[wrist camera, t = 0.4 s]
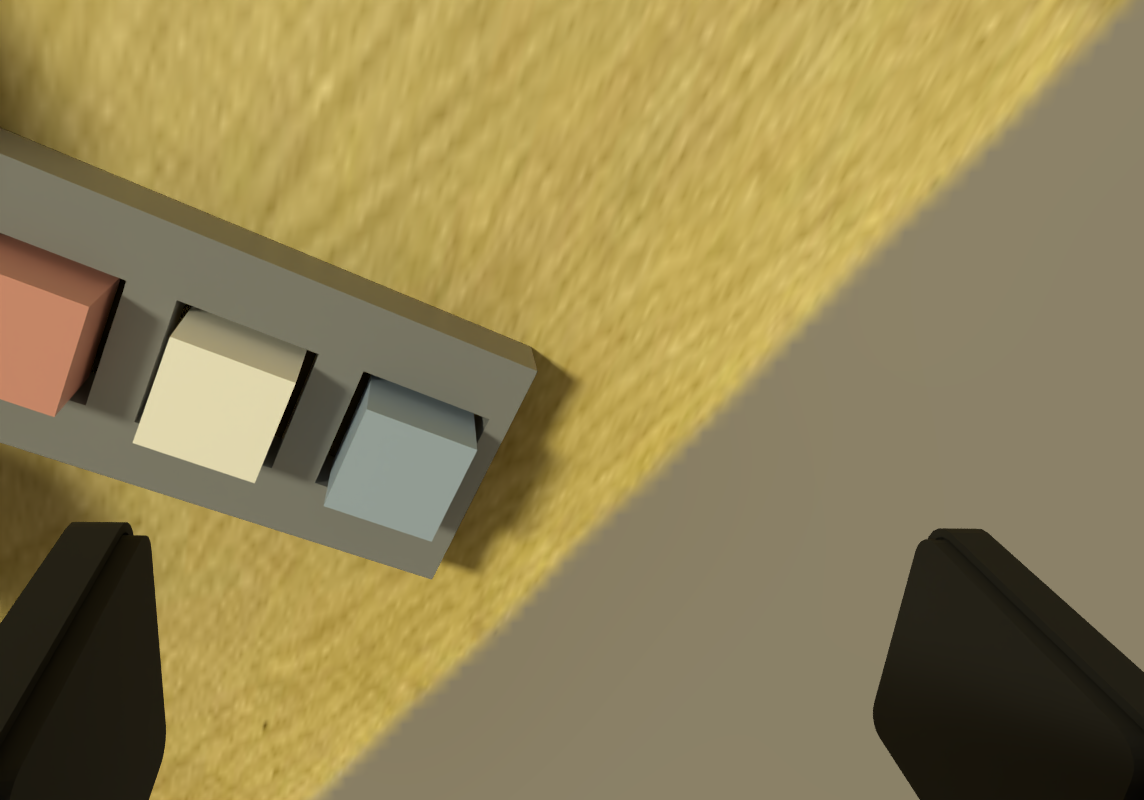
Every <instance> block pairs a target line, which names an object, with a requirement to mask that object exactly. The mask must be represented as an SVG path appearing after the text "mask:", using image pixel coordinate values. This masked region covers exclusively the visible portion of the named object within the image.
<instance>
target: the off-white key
mask: <svg viewBox="0 0 1144 800" xmlns="http://www.w3.org/2000/svg"><path fill="white" fill-rule="evenodd" d="M306 351H307V350H306V349H304V348H301V347H299V346H296V345H293V344H291V343H288V342H285V341H283V340H280V339H278V338H275V337H272V336H270V335H267V334H264V333H262V332H259V331H257V330H254V329H251V328H249V327H246V326H243V325H241V324H238V323H236V322H233V321H230V320H228V319H225V318H222V317H220V316H217V315H215V314H212V313H209V312H207V311H204V310H201V309H199V308H196V307H194V306H192V307H191V309H190V310H189V311H188V313H187V314H186V315H185V317H184V318H183V320H182V321H181V322H180V324H179V325H178V326H177V328H176V329H175V330H174V332H173V333H172V335H171V336H170V338H169V341H168V344H167V346H166V349H165V352H164V355H163V358H162V361H161V363H160V366H159V369H158V372H157V375H156V378H155V380H154V383H153V386H152V389H151V392H150V395H149V398H148V400H147V403H146V406H145V409H144V412H143V415H142V417H141V420H140V423H139V426H138V429H137V432H136V434H135V437H134V440H133V443H134V444H137V445H140V446H143V447H146V448H149V449H152V450H155V451H158V452H161V453H164V454H167V455H170V456H173V457H177V458H180V459H183V460H186V461H189V462H192V463H195V464H198V465H201V466H204V467H207V468H210V469H213V470H216V471H219V472H222V473H225V474H228V475H231V476H234V477H237V478H240V479H243V480H246V481H249V482H252V483H255V481H256V479H257V476H258V474H259V472H260V469H261V467H262V464H263V462H264V459H265V457H266V455H267V452H268V450H269V447H270V445H271V442H272V440H273V437H274V435H275V433H276V430H277V428H278V425H279V423H280V420H281V418H282V416H283V413H284V411H285V408H286V406H287V403H288V401H289V398H290V396H291V394H292V391H293V389H294V386H295V384H296V381H297V378H298V375H299V372H300V369H301V366H302V363H303V360H304V357H305V354H306Z"/></svg>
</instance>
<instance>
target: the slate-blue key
mask: <svg viewBox="0 0 1144 800" xmlns="http://www.w3.org/2000/svg"><path fill="white" fill-rule="evenodd" d="M476 452H477V441H476V431H475V421H474V413H472V412H469V411H466V410H464V409H461V408H459V407H456V406H453V405H451V404H448V403H445V402H443V401H440V400H438V399H435V398H432V397H430V396H427V395H424V394H422V393H419V392H417V391H414V390H411V389H409V388H406V387H403V386H401V385H398V384H396V383H393V382H390V381H388V380H385V379H382V378H380V377H377V376H375V375H372V374H371V376H370V378H369V380H368V383H367V385H366V387H365V389H364V392H363V394H362V396H361V399H360V401H359V403H358V405H357V408H356V410H355V412H354V414H353V417H352V419H351V421H350V424H349V426H348V428H347V430H346V433H345V435H344V437H343V439H342V442H341V444H340V446H339V449H338V451H337V453H336V455H335V458H334V460H333V462H332V467H331V472H330V477H329V482H328V487H327V492H326V497H325V501H324V506H325V507H328V508H331V509H334V510H337V511H340V512H343V513H346V514H349V515H352V516H355V517H358V518H361V519H364V520H367V521H370V522H373V523H376V524H379V525H382V526H385V527H388V528H391V529H394V530H397V531H400V532H403V533H406V534H410V535H413V536H416V537H419V538H422V539H425V540H428V541H431V542H432V540H433V538H434V536H435V534H436V532H437V530H438V528H439V526H440V524H441V522H442V520H443V518H444V516H445V514H446V512H447V510H448V508H449V506H450V504H451V502H452V500H453V498H454V496H455V494H456V492H457V490H458V488H459V486H460V484H461V482H462V480H463V478H464V476H465V474H466V472H467V470H468V468H469V466H470V464H471V462H472V460H473V458H474V456H475V454H476Z"/></svg>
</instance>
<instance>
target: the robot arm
mask: <svg viewBox="0 0 1144 800" xmlns="http://www.w3.org/2000/svg"><path fill="white" fill-rule="evenodd" d="M873 719H874V725H875V728H876V731H877V733H878V735H879V737H880V739H881V740H882V742H883V743H884V745H885V747H886V748H887V750H888V751H889V753H890V754H891V756H892V757H893V759H894V760H895V762H896V764H897V765H898V767H899V768H900V770H901V771H902V773H903V774H904V776H905V777H906V779H907V781H908V782H909V783H910V785H911V787H912V788H913V790H914V791H915V793H916V794H917V796H918V797H919V799H920V800H1144V672H1143V671H1142V670H1141V669H1139V668H1138V667H1137V666H1136V665H1135V664H1134V663H1133V662H1132V661H1131V660H1129V659H1128V658H1127V657H1126V656H1125V655H1124V654H1123V653H1122V652H1121V651H1119V650H1118V649H1117V648H1116V647H1115V646H1114V645H1113V644H1111V643H1110V642H1109V641H1108V640H1107V639H1106V638H1105V637H1103V635H1101V634H1100V633H1099V632H1098V631H1097V630H1096V629H1095V628H1094V627H1092V626H1091V625H1090V624H1089V623H1088V622H1087V621H1086V620H1085V619H1084V618H1082V617H1081V616H1080V615H1079V614H1078V613H1077V612H1076V611H1075V610H1074V609H1072V608H1071V607H1070V606H1069V605H1068V604H1067V603H1066V602H1065V601H1063V600H1062V599H1061V598H1060V597H1059V596H1058V595H1057V594H1056V593H1054V592H1053V591H1052V590H1051V589H1050V588H1049V587H1048V586H1047V585H1046V584H1044V583H1043V582H1042V581H1041V580H1040V579H1039V578H1038V577H1037V576H1035V575H1034V574H1033V573H1032V572H1031V571H1030V570H1028V568H1027V567H1025V566H1024V565H1023V564H1022V563H1021V562H1020V561H1019V560H1018V559H1016V558H1015V557H1014V556H1013V555H1012V554H1011V553H1010V552H1009V551H1007V550H1006V549H1005V548H1004V547H1003V546H1002V545H1001V544H1000V543H999V542H997V541H996V540H995V539H994V538H993V537H992V536H991V535H990V534H988V533H987V532H985V531H984V530H982V529H937V530H935V531H933V532H932V533H931V535H930V536H929V538H928V539H926V540H923V541H921V542H920V544H919V545H918V547H917V549H916V551H915V555H914V559H913V563H912V566H911V570H910V574H909V577H908V581H907V585H906V588H905V592H904V596H903V599H902V603H901V607H900V611H899V614H898V618H897V621H896V625H895V629H894V632H893V636H892V640H891V643H890V647H889V651H888V654H887V658H886V662H885V665H884V669H883V673H882V676H881V680H880V684H879V687H878V691H877V695H876V699H875V703H874V707H873ZM165 740H166V722H165V710H164V698H163V685H162V673H161V661H160V649H159V636H158V624H157V612H156V600H155V587H154V575H153V563H152V551H151V543H150V540H149V537H148V536H141V535H133V531H132V528H131V525H130V524H129V523H128V522H73V523H71V524H70V525H69V526H68V527H67V528H66V529H65V531H64V532H63V534H62V535H61V537H60V538H59V539H58V541H57V542H56V544H55V545H54V547H53V548H52V550H51V551H50V552H49V554H48V555H47V557H46V558H45V560H44V561H43V563H42V564H41V566H40V567H39V568H38V570H37V571H36V573H35V574H34V576H33V577H32V579H31V580H30V581H29V583H28V584H27V586H26V587H25V589H24V590H23V592H22V593H21V594H20V596H19V597H18V599H17V600H16V602H15V603H14V605H13V606H12V608H11V609H10V610H9V612H8V613H7V615H6V616H5V618H4V619H3V621H2V622H1V623H0V800H149V797H150V794H151V792H152V789H153V786H154V783H155V780H156V777H157V774H158V771H159V768H160V765H161V762H162V759H163V754H164V748H165Z"/></svg>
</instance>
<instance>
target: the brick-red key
mask: <svg viewBox="0 0 1144 800" xmlns="http://www.w3.org/2000/svg"><path fill="white" fill-rule="evenodd" d="M119 282H120V278H118V277H115V276H112V275H110V274H107V273H104V272H102V271H99V270H97V269H94V268H91V267H89V266H86V265H83V264H81V263H78V262H76V261H73V260H70V259H68V258H65V257H62V256H60V255H57V254H55V253H52V252H49V251H47V250H44V249H41V248H39V247H36V246H34V245H31V244H28V243H26V242H23V241H20V240H18V239H15V238H13V237H10V236H7V235H5V234H2V233H0V399H1V400H4V401H7V402H10V403H13V404H16V405H19V406H22V407H25V408H28V409H31V410H34V411H37V412H40V413H43V414H46V415H49V416H52V417H55V416H56V415H57V413H58V412H59V411H60V410H61V409H62V408H63V407H64V405H65V404H66V403H67V402H68V401H69V400H70V398H71V397H72V396H73V395H74V394H75V393H76V391H77V390H78V389H79V388H80V387H81V386H82V384H83V383H84V382H85V381H86V380H87V379H88V378H89V374H90V371H91V368H92V365H93V362H94V359H95V356H96V353H97V350H98V347H99V344H100V341H101V337H102V334H103V331H104V328H105V325H106V322H107V319H108V316H109V313H110V310H111V307H112V304H113V301H114V297H115V294H116V291H117V288H118V285H119Z"/></svg>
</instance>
